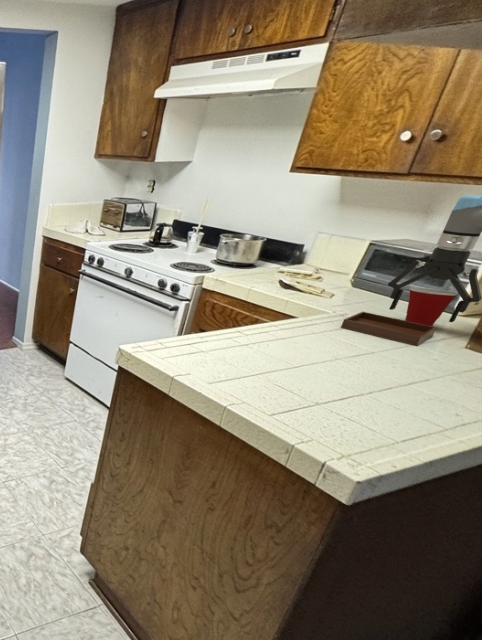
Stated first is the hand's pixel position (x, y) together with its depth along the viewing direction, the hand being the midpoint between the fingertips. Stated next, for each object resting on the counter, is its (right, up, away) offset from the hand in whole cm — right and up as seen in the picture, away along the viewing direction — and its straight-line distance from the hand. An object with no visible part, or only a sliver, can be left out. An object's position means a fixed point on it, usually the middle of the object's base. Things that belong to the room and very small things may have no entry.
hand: (420, 315), depth 150 cm
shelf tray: (-17, -6, -5) cm, 19 cm away
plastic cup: (0, -3, +1) cm, 4 cm away
